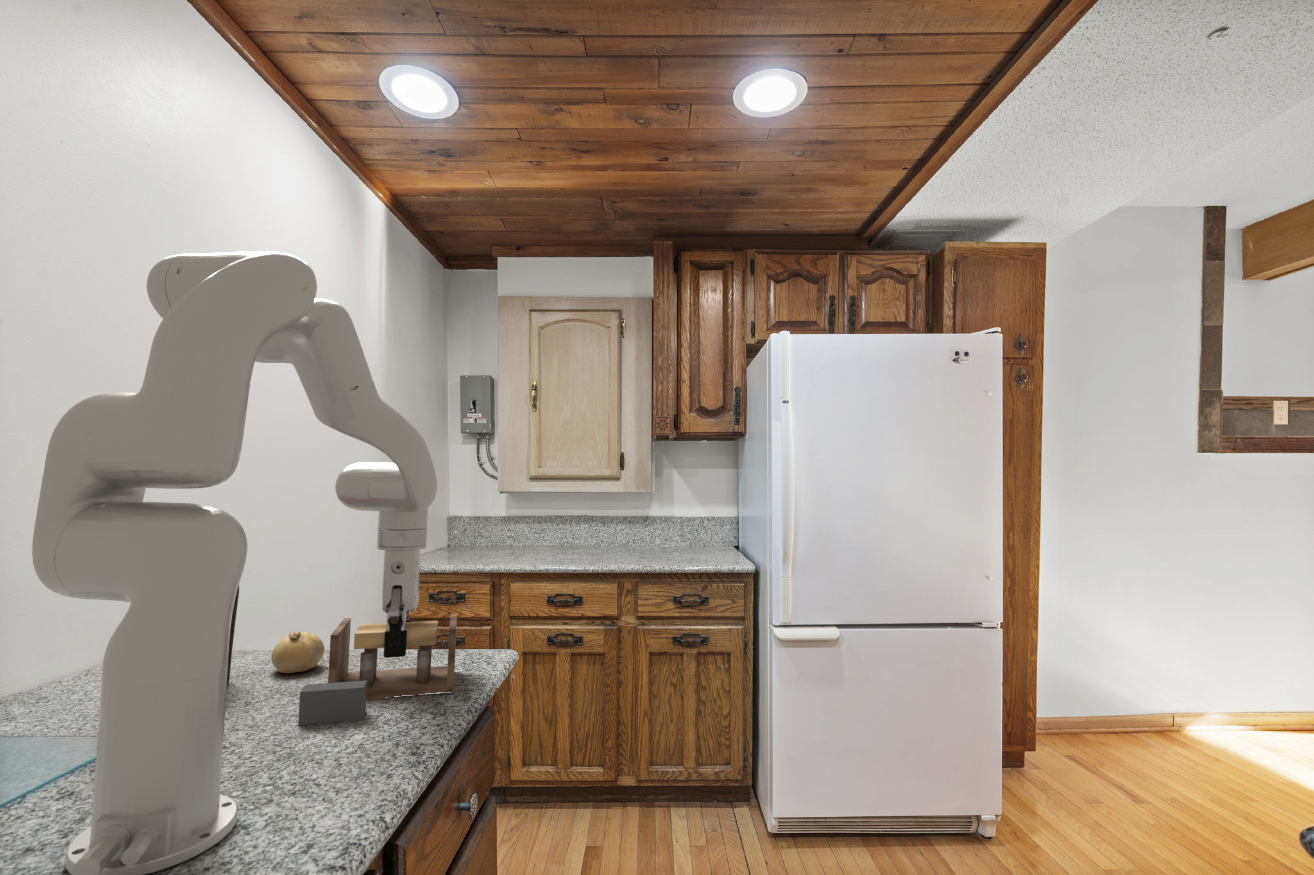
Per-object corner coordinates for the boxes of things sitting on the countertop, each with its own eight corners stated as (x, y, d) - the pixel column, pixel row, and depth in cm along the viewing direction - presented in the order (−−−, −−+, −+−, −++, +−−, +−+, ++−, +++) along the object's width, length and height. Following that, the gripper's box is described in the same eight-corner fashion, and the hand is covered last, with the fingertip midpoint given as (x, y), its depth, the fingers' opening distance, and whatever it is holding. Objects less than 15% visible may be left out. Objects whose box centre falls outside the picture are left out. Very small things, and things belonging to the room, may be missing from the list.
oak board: (435, 644, 100) (436, 629, 100) (353, 649, 96) (354, 633, 97) (437, 635, 106) (437, 620, 106) (360, 638, 102) (360, 624, 102)
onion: (265, 669, 108) (268, 627, 108) (316, 660, 113) (318, 621, 113) (276, 681, 102) (278, 637, 102) (329, 671, 107) (331, 630, 107)
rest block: (362, 720, 87) (363, 687, 87) (298, 725, 85) (299, 691, 85) (365, 711, 90) (367, 680, 90) (303, 716, 88) (305, 684, 88)
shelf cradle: (453, 693, 98) (455, 629, 99) (326, 702, 93) (330, 635, 93) (454, 671, 109) (456, 613, 109) (341, 678, 103) (344, 618, 104)
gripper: (423, 545, 95) (417, 665, 94) (429, 533, 111) (424, 635, 110) (369, 545, 93) (363, 668, 92) (384, 533, 109) (379, 638, 108)
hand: (397, 649), depth 101 cm, fingers closed on oak board, 5 cm apart
